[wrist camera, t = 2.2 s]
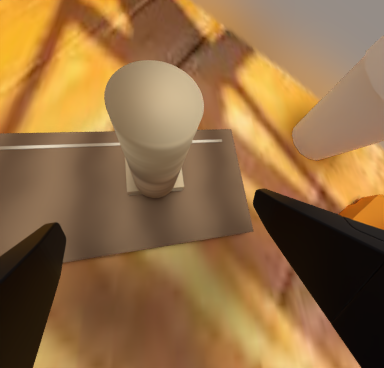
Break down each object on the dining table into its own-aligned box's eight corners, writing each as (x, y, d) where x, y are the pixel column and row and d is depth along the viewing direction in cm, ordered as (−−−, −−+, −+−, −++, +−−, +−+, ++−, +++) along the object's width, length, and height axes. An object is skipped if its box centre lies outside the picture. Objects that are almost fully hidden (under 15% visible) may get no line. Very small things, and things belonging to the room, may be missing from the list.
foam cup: (345, 137, 28) (495, 61, 16) (327, 183, 25) (497, 134, 13) (296, 101, 28) (407, -3, 16) (272, 143, 25) (387, 54, 12)
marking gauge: (169, 121, 22) (191, -37, 9) (180, 201, 20) (228, 140, 7) (127, 121, 21) (83, -59, 8) (132, 207, 19) (81, 145, 6)
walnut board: (224, 137, 23) (231, 128, 21) (244, 231, 21) (253, 231, 19) (-75, 146, 17) (-106, 134, 15) (-109, 288, 14) (-153, 297, 12)
